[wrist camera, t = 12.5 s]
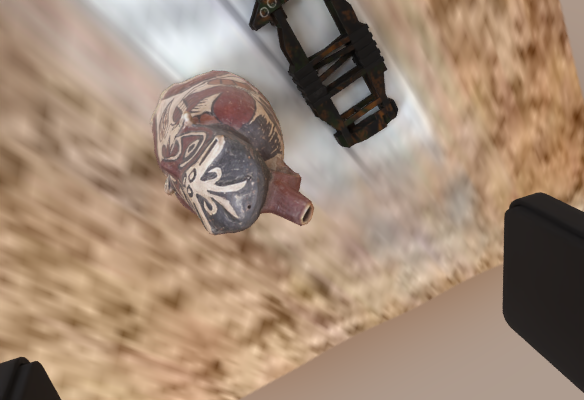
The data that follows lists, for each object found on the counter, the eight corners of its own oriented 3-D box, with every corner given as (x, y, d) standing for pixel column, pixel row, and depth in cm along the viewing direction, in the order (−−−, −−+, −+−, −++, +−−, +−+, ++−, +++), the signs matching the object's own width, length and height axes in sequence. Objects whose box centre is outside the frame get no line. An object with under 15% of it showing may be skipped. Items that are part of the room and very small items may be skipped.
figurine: (178, 47, 26) (195, 72, 15) (290, 99, 28) (373, 151, 18) (133, 164, 27) (120, 262, 17) (244, 202, 30) (294, 307, 19)
